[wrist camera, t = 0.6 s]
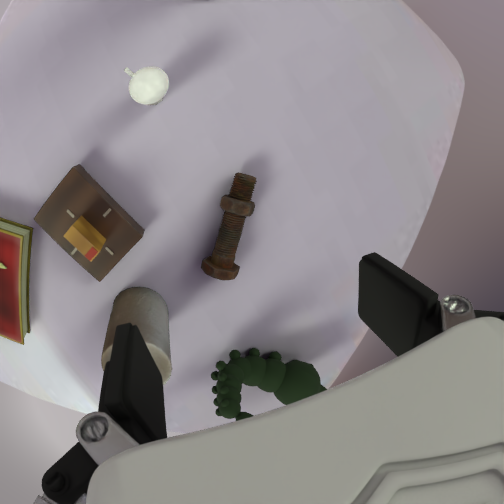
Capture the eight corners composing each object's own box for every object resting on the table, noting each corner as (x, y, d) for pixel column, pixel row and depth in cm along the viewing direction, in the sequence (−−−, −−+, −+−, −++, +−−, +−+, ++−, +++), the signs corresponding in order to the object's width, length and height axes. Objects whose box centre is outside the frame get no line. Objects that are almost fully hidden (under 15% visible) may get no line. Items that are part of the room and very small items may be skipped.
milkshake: (146, 70, 33) (138, 52, 24) (176, 89, 35) (177, 76, 26) (126, 96, 33) (112, 85, 24) (156, 116, 36) (150, 110, 27)
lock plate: (41, 213, 36) (33, 219, 33) (79, 164, 35) (72, 166, 32) (103, 273, 42) (99, 282, 39) (144, 229, 41) (142, 236, 39)
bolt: (244, 173, 44) (219, 263, 48) (220, 167, 40) (194, 265, 44) (273, 182, 40) (243, 280, 44) (248, 176, 37) (218, 283, 41)
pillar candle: (106, 321, 45) (92, 385, 32) (124, 276, 43) (109, 336, 30) (156, 340, 49) (158, 405, 36) (178, 299, 47) (185, 361, 34)
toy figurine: (203, 363, 56) (307, 382, 63) (210, 440, 39) (336, 444, 46) (219, 328, 54) (327, 352, 61) (232, 406, 36) (364, 414, 43)
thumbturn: (73, 225, 35) (62, 236, 31) (81, 215, 35) (71, 225, 31) (98, 248, 37) (90, 263, 33) (106, 239, 37) (99, 252, 33)
